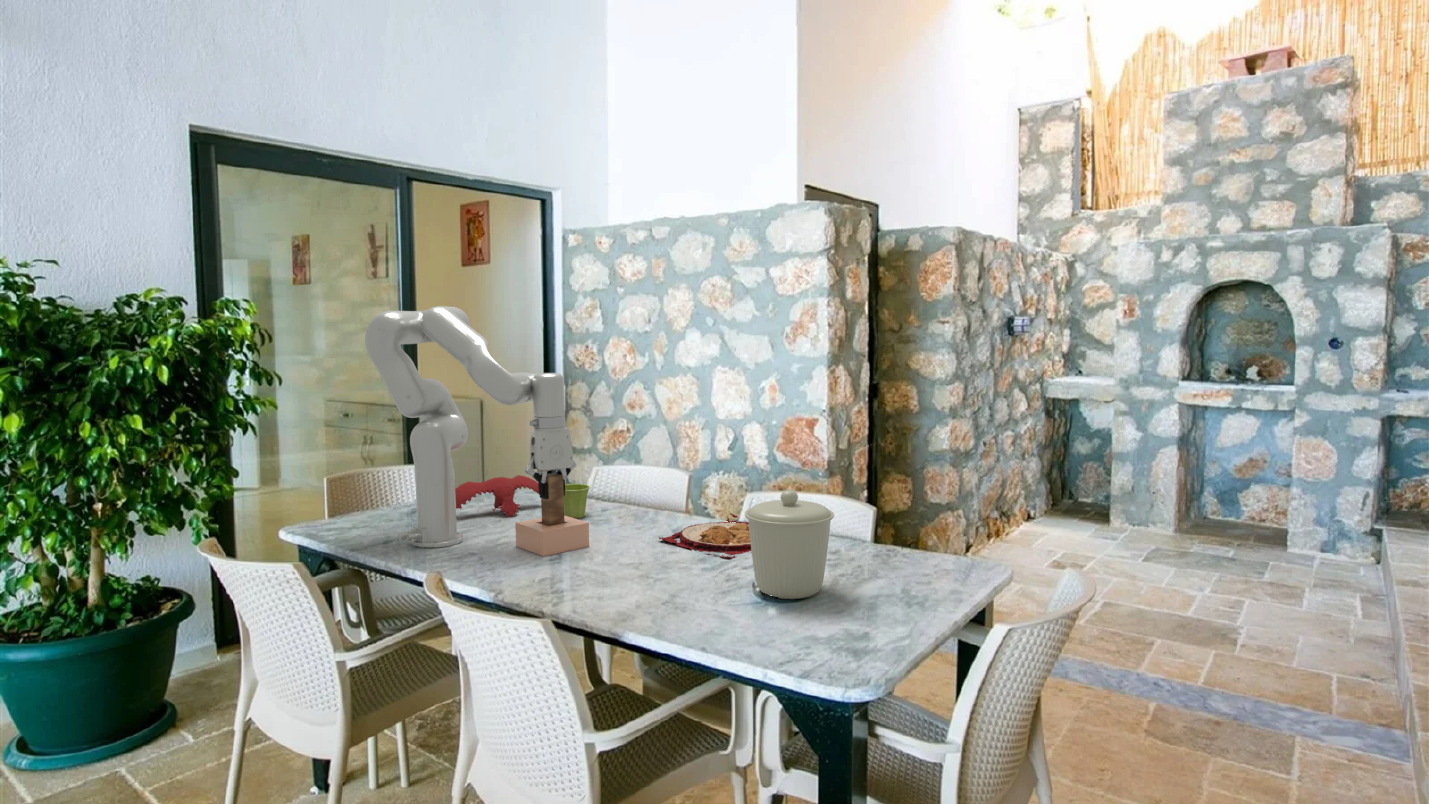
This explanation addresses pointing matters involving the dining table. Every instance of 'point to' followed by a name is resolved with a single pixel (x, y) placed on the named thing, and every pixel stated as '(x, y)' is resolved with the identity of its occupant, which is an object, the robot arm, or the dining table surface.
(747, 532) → the plate with food
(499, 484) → the decorative bird sculpture
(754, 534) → the canister
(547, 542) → the pink planter box
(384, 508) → the dining table surface
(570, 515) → the plant pot
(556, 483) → the walnut peg
